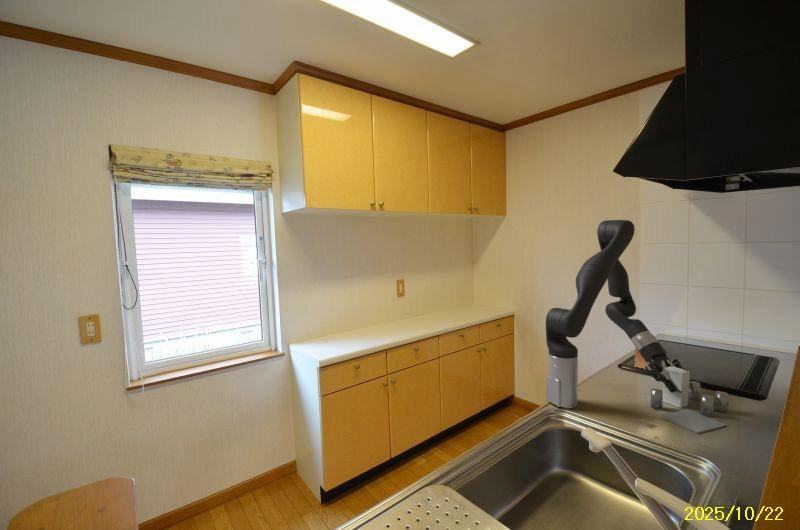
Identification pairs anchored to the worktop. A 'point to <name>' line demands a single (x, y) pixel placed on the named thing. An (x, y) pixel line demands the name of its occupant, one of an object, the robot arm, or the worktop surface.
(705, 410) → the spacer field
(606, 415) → the worktop surface
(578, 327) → the robot arm
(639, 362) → the small box
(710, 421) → the slate tile
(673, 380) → the skincare box
